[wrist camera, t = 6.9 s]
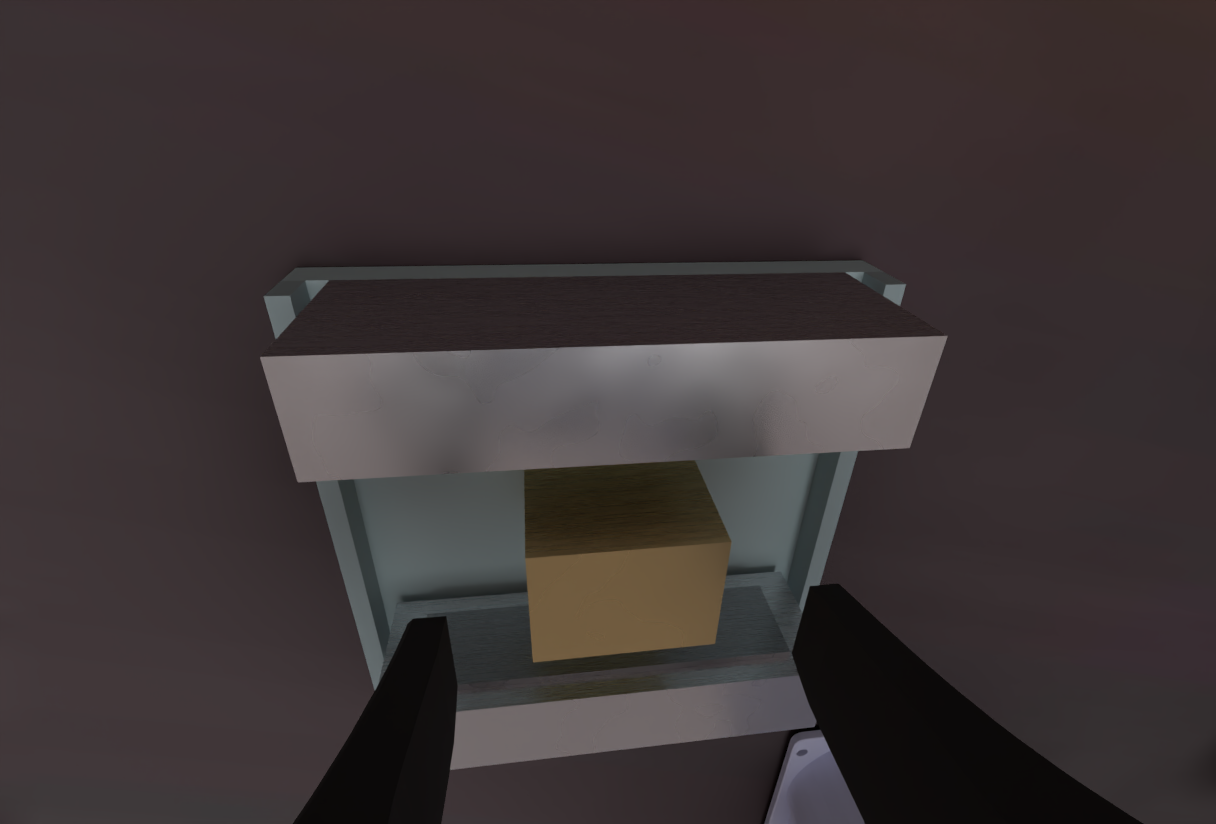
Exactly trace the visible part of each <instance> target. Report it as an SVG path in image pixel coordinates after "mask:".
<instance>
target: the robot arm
mask: <svg viewBox="0 0 1216 824" xmlns="http://www.w3.org/2000/svg"><path fill="white" fill-rule="evenodd" d="M792 656H793V659H794V662H795V665H796V668H797V671H798V674H799V678H800V681H801V683H802V686H803V689H804V692H805V695H806V698H807V700H808V703H809V706H810V708H811V710H812V712H813V714H814V717H815V719H816V721H817V723H818V725H819V727H820V730H813V731H804V732H799V733H797V734H795V735H794V736H792V738H791V740H790V743H789V746H788V749H787V752H786V755H785V759H784V762H783V765H782V768H781V771H780V775H779V778H778V781H777V784H776V788H775V791H774V794H773V797H772V800H771V804H770V807H769V810H768V813H767V816H766V820H765V823H764V824H1143V823H1141V822H1140V821H1138V820H1136V819H1135V818H1133V817H1132V816H1130V815H1129V814H1127V813H1125V812H1124V811H1122V810H1121V809H1119V808H1118V807H1116V806H1115V805H1113V804H1112V803H1110V802H1109V801H1107V800H1105V799H1104V798H1102V797H1101V796H1099V795H1098V794H1096V793H1095V792H1093V791H1092V790H1090V789H1089V788H1087V787H1086V786H1084V785H1083V784H1081V783H1080V782H1078V781H1077V780H1075V779H1074V778H1072V777H1071V776H1069V775H1068V774H1066V773H1065V772H1064V771H1062V770H1061V769H1059V768H1058V767H1056V766H1055V765H1054V764H1052V763H1051V762H1050V761H1048V760H1047V759H1045V758H1044V757H1043V756H1041V755H1040V754H1038V753H1037V752H1036V751H1034V750H1033V749H1032V748H1030V747H1029V746H1027V745H1026V744H1025V743H1023V742H1022V741H1021V740H1019V739H1018V738H1016V737H1015V736H1014V735H1012V734H1011V733H1010V732H1009V731H1007V730H1006V729H1005V728H1003V727H1002V726H1001V725H999V724H998V723H997V722H996V721H994V720H993V719H992V718H991V717H989V716H988V715H987V714H986V713H984V712H983V711H982V710H981V709H979V708H978V707H977V706H976V705H974V704H973V703H972V702H971V701H969V700H968V699H967V698H966V697H965V696H963V695H962V694H961V693H960V692H958V691H957V690H956V689H955V688H954V687H952V686H951V685H950V684H949V683H948V682H947V681H945V680H944V679H943V678H942V677H941V676H940V675H938V674H937V673H936V672H935V671H934V670H933V669H931V668H930V667H929V666H928V665H927V664H926V663H925V662H923V661H922V660H921V659H920V658H919V657H918V656H917V655H916V654H914V653H913V652H912V651H911V650H910V649H909V648H908V647H907V646H906V645H904V644H903V643H902V642H901V641H900V640H899V639H898V638H897V637H896V636H895V635H893V634H892V633H891V632H890V631H889V630H888V629H887V628H886V627H885V626H884V625H883V624H881V623H880V622H879V621H878V620H877V619H876V618H875V617H874V616H873V615H872V614H871V613H870V612H869V611H867V610H866V609H865V608H864V607H863V606H862V605H861V604H860V603H859V602H858V601H857V600H856V599H855V598H853V597H852V596H851V595H850V594H849V593H848V592H847V591H846V590H845V589H844V588H842V587H841V586H840V585H839V584H829V585H817V586H810V587H809V591H808V595H807V598H806V602H805V606H804V609H803V613H802V617H801V620H800V624H799V628H798V632H797V635H796V639H795V643H794V646H793V650H792ZM457 689H458V684H457V678H456V672H455V666H454V660H453V654H452V648H451V642H450V636H449V630H448V623H447V617H446V616H440V617H428V618H416V619H412V620H411V621H410V622H409V623H408V624H407V626H406V629H405V631H404V633H403V635H402V638H401V640H400V642H399V644H398V646H397V648H396V651H395V653H394V655H393V657H392V659H391V661H390V663H389V665H388V667H387V669H386V671H385V673H384V675H383V676H382V678H381V680H380V682H379V684H378V686H377V688H376V690H375V692H374V693H373V695H372V697H371V699H370V701H369V702H368V704H367V706H366V708H365V709H364V711H363V713H362V715H361V716H360V718H359V720H358V722H357V724H356V725H355V727H354V729H353V731H352V732H351V734H350V736H349V737H348V739H347V741H346V742H345V744H344V746H343V747H342V749H341V750H340V752H339V754H338V755H337V757H336V758H335V760H334V762H333V763H332V765H331V766H330V768H329V769H328V771H327V773H326V774H325V776H324V777H323V779H322V781H321V782H320V784H319V785H318V787H317V789H316V790H315V792H314V793H313V795H312V796H311V798H310V799H309V801H308V802H307V804H306V805H305V807H304V808H303V810H302V811H301V813H300V814H299V815H298V817H297V818H296V820H295V821H294V823H293V824H441V821H442V815H443V809H444V803H445V797H446V790H447V784H448V778H449V772H450V766H451V759H452V753H453V746H454V737H455V722H456V706H457Z"/></svg>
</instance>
